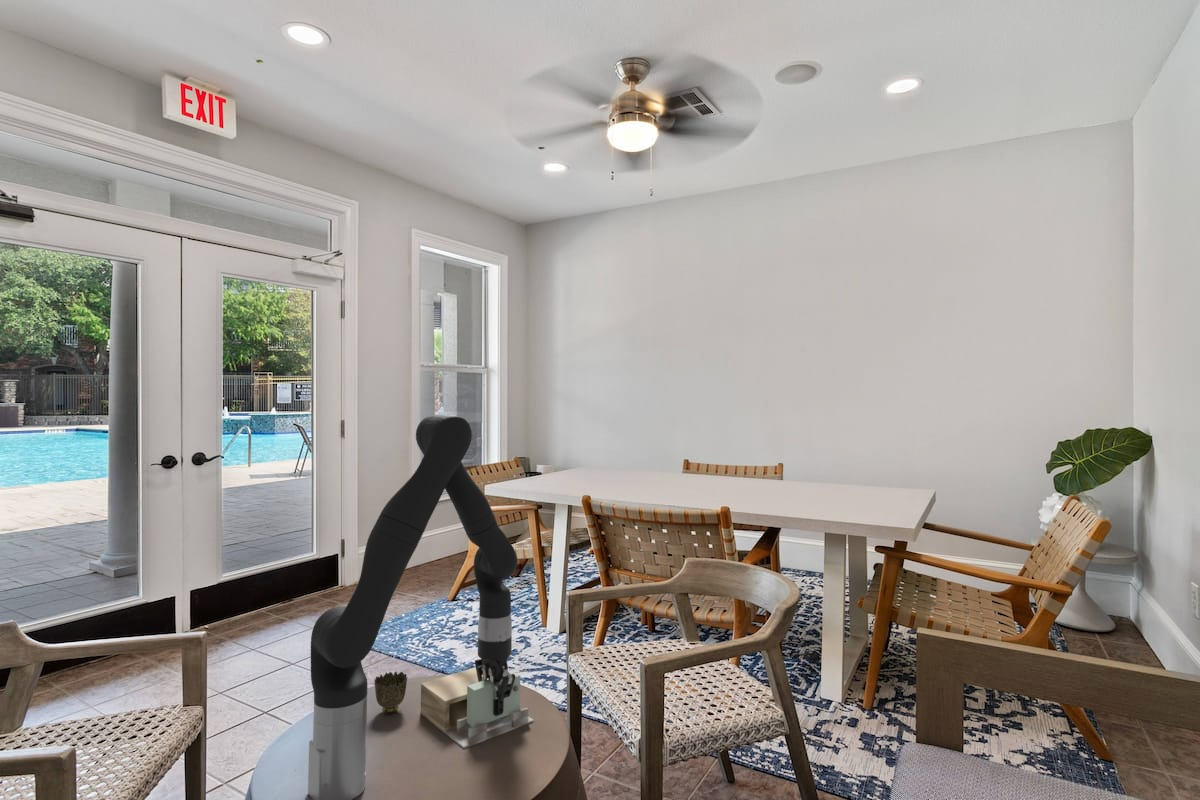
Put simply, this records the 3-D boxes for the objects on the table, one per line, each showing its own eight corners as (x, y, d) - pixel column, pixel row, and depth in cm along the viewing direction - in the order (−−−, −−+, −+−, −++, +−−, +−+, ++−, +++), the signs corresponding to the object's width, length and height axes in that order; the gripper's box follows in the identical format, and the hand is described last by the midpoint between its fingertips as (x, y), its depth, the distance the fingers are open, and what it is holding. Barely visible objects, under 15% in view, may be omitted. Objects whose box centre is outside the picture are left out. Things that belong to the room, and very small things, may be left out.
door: (476, 729, 133) (476, 691, 133) (466, 722, 136) (467, 685, 136) (522, 712, 141) (522, 676, 141) (512, 705, 144) (513, 671, 144)
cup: (372, 707, 148) (373, 673, 148) (404, 702, 151) (405, 669, 151) (375, 721, 141) (376, 686, 141) (408, 715, 144) (409, 680, 144)
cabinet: (463, 748, 130) (464, 715, 130) (420, 713, 145) (421, 683, 145) (533, 721, 142) (534, 690, 142) (486, 691, 157) (487, 663, 157)
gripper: (464, 629, 142) (463, 705, 141) (497, 647, 131) (496, 729, 131) (492, 622, 147) (491, 696, 146) (526, 638, 136) (525, 718, 136)
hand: (494, 711), depth 138 cm, fingers closed on door, 3 cm apart
